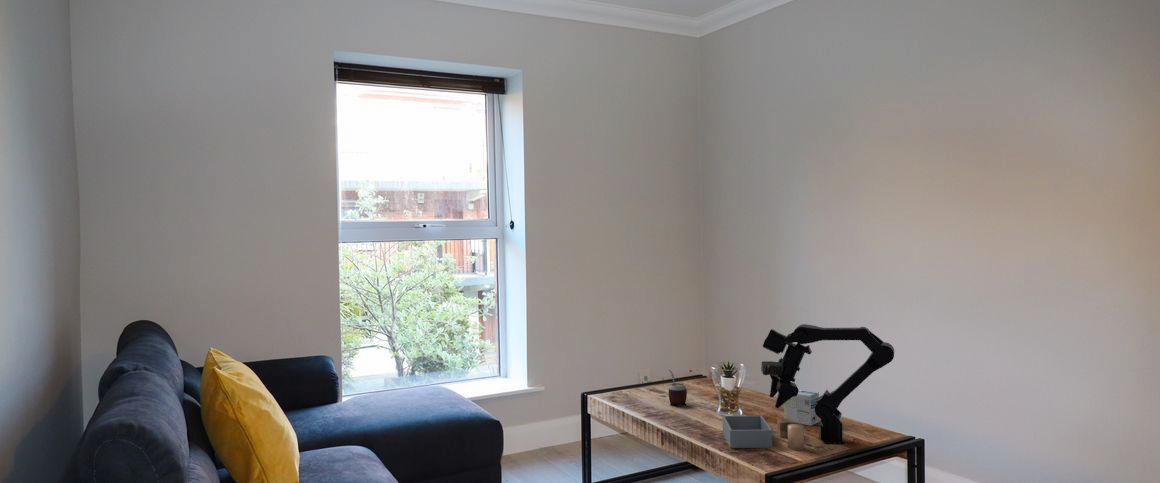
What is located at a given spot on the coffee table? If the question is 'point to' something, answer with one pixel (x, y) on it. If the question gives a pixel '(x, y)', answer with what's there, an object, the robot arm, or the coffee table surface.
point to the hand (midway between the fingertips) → (773, 402)
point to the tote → (747, 432)
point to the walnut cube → (783, 426)
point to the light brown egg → (795, 437)
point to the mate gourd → (677, 393)
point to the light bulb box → (802, 408)
